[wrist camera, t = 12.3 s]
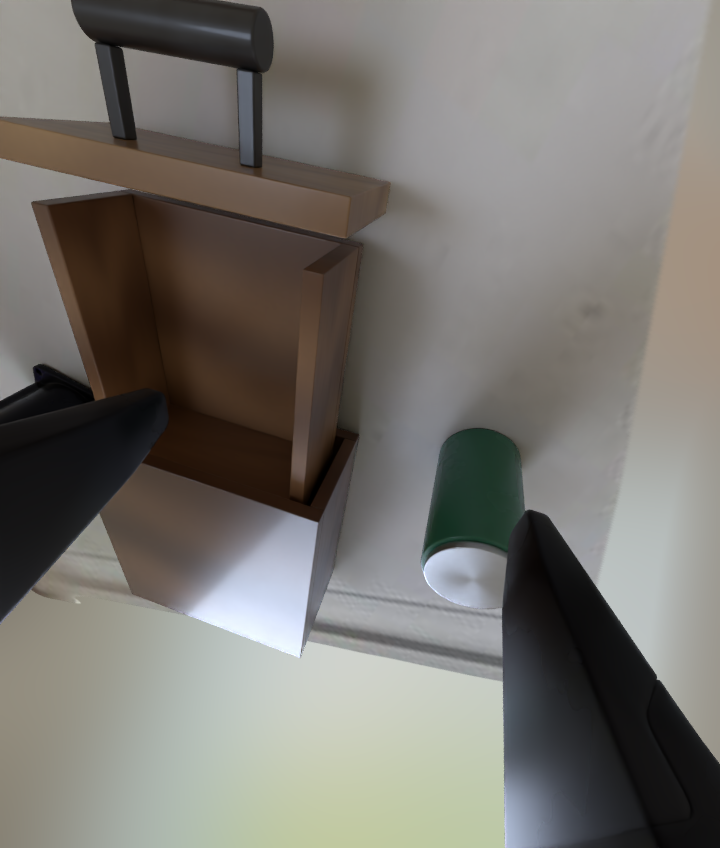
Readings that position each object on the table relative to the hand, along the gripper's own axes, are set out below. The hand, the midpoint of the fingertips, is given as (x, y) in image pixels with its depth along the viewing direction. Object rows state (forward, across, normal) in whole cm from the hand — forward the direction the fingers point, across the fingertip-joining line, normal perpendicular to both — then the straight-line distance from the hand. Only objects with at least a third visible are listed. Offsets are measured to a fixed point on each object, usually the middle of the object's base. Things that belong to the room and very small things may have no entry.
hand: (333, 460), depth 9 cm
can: (+13, -6, +9) cm, 17 cm away
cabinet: (+13, +8, +18) cm, 24 cm away
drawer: (+12, +9, +1) cm, 15 cm away
